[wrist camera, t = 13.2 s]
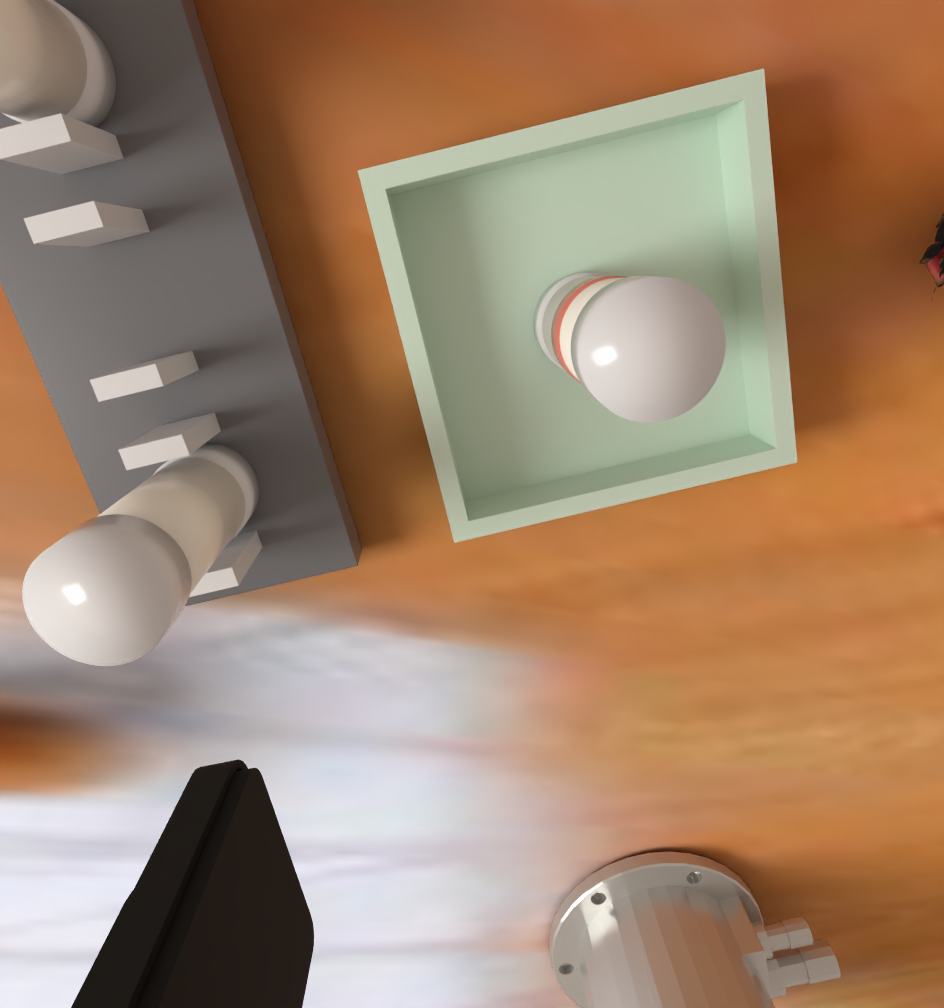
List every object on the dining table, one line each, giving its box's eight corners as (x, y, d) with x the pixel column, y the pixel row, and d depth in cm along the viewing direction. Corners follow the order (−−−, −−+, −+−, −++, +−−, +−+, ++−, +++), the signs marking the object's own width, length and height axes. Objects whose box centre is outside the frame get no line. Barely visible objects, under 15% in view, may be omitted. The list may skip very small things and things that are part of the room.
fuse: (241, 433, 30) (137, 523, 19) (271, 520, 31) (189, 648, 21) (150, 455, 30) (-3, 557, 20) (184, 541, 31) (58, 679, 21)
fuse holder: (161, -103, 26) (83, -207, 20) (361, 548, 34) (346, 606, 28) (-103, -32, 26) (-255, -116, 20) (160, 596, 34) (105, 662, 28)
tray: (725, 91, 28) (764, 68, 25) (761, 442, 33) (797, 462, 30) (366, 181, 29) (357, 170, 25) (452, 515, 34) (454, 542, 30)
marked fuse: (618, 262, 29) (717, 261, 19) (633, 357, 31) (733, 404, 20) (524, 285, 30) (571, 296, 19) (543, 378, 31) (596, 437, 20)
